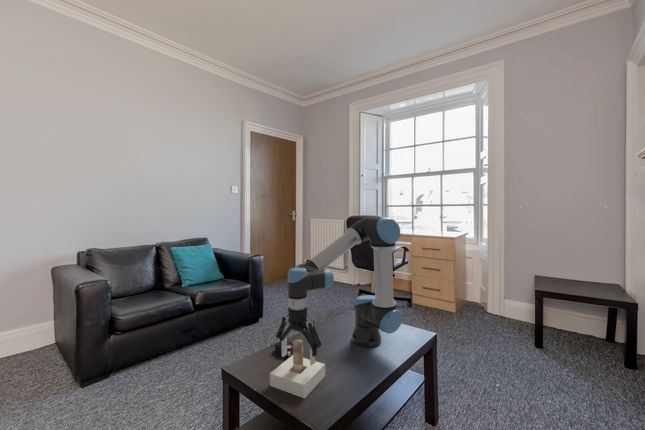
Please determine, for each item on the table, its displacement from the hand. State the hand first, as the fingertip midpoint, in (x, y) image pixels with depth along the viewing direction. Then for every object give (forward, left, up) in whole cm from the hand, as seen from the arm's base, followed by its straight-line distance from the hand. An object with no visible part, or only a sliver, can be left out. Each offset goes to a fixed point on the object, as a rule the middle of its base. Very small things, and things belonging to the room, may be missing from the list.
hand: (298, 359), depth 117 cm
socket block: (0, 0, -9) cm, 9 cm away
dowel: (0, 0, -9) cm, 9 cm away
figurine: (-16, -16, -9) cm, 24 cm away
